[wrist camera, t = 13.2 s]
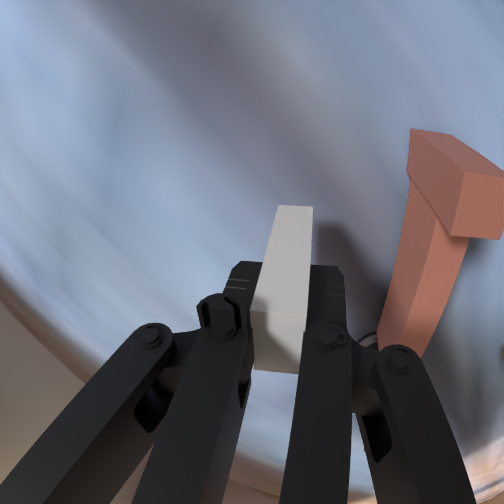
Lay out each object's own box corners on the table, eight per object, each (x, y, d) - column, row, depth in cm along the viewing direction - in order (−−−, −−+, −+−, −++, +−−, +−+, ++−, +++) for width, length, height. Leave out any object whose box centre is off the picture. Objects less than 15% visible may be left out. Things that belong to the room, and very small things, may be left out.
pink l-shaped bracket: (373, 328, 19) (380, 406, 14) (410, 128, 12) (464, 171, 7) (403, 329, 19) (415, 404, 14) (450, 134, 12) (516, 181, 7)
